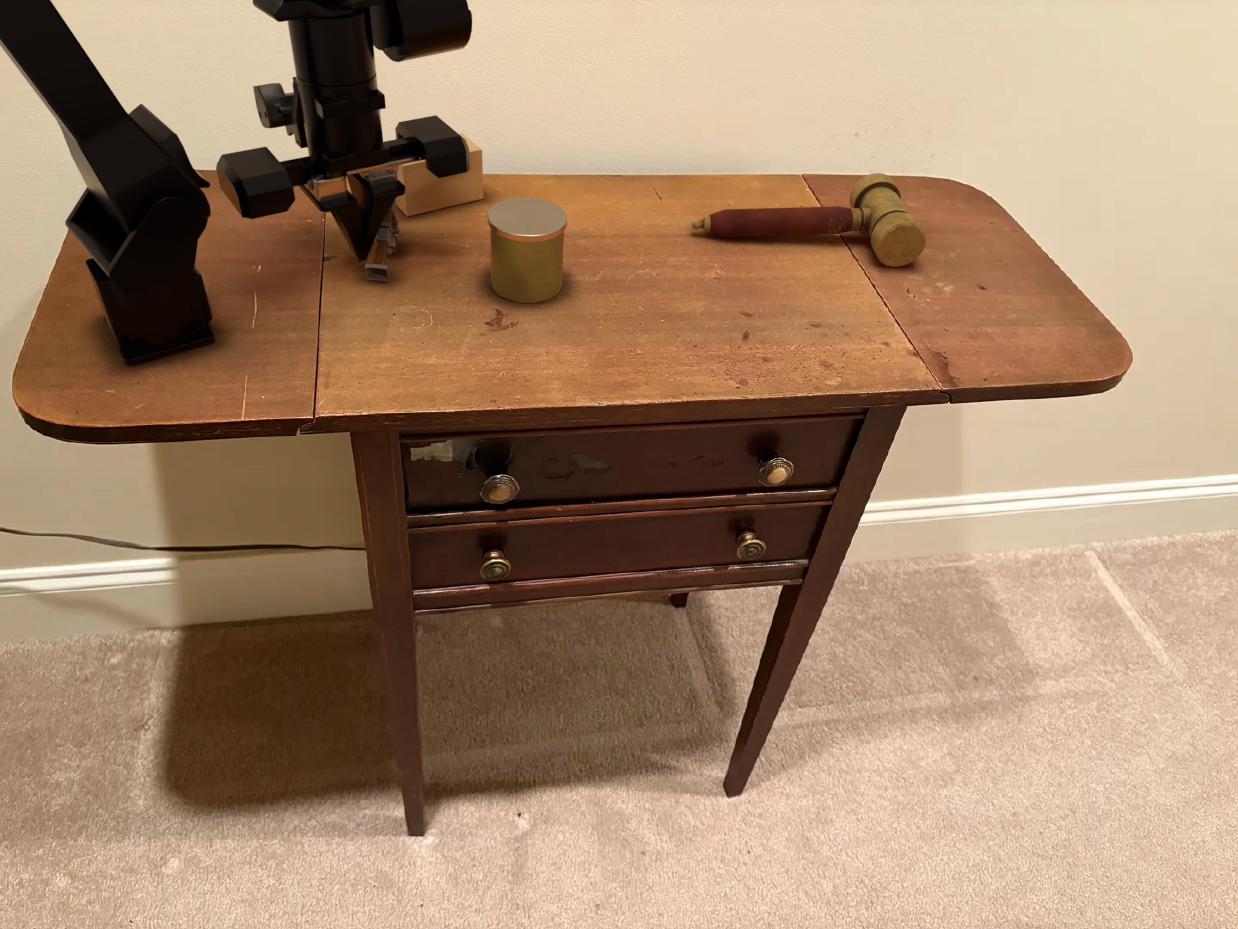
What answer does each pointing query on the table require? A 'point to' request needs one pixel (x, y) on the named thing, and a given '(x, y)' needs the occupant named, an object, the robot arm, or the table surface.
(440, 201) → the birch block
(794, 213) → the gavel
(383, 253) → the wooden lantern post
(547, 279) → the enamel tin
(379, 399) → the table surface
